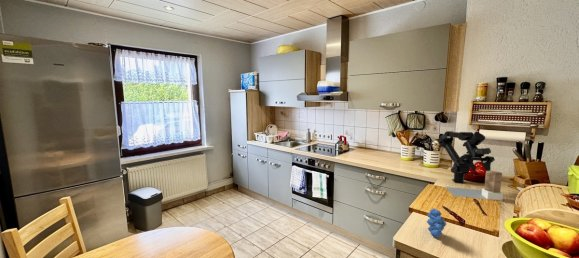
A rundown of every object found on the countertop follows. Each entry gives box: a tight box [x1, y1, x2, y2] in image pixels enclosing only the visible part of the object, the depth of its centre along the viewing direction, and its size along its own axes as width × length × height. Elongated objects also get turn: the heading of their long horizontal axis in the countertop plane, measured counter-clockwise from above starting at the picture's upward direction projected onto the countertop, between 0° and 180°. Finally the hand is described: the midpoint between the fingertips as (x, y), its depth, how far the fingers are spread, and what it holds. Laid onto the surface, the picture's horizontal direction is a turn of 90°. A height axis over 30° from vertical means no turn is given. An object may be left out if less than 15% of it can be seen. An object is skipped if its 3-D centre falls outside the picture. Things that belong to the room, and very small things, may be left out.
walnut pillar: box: [483, 170, 503, 193], centre depth 137 cm, size 5×5×11 cm
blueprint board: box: [444, 186, 504, 203], centre depth 145 cm, size 16×24×5 cm, turn 74°
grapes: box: [426, 208, 447, 238], centre depth 99 cm, size 12×7×12 cm, turn 169°
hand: (482, 171), depth 145 cm, fingers open, 9 cm apart
